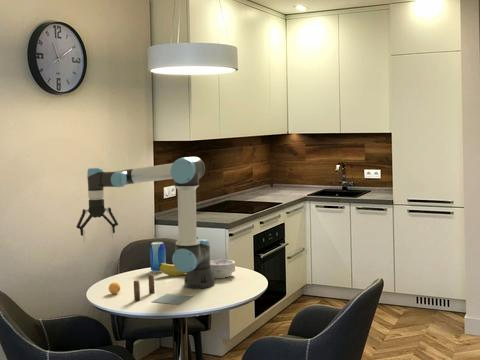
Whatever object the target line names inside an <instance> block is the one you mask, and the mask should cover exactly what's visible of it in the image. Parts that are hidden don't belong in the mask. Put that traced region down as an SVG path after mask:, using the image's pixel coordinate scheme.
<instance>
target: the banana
mask: <svg viewBox="0 0 480 360" xmlns="http://www.w3.org/2000/svg"><path fill="white" fill-rule="evenodd" d="M198 238H199V237H198V236H197V239H198ZM159 268H160V270H161V271H162V272H161V273H163V274H165V275H167V276H172V277H173V276H175V277H178V276H183V275H186V273H187V272H181V271H179V270H178V269H177V268H176V267H175V266H174V264H169V263H166V264H164V263H160V264H159Z"/></svg>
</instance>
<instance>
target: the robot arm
mask: <svg viewBox="0 0 480 360" xmlns="http://www.w3.org/2000/svg"><path fill="white" fill-rule="evenodd" d="M205 166H206V165H205V163H204V161H203V160H202V159H201V158H200V157H198V156H184V157H180V158H177V159H176V160H175V161H173V163H165V164H159V165H153V166H152V165H150V166H145V167H137V168H129V169H123V170H115V171H104V170H103V168H102V167H89V168H88V169H87V172H86V173H87V174H86V175H87V176H86V177H87V178H86V179H87V190H88V191H87V192H88V193H87V196H88V197H87V198H88V199H89V200H88V209H85V208H83V209H82V212H81V215H80V218H79V219H78V222H77V224H76V228H77V229H79V230H80V231H79V233H80V236H82V242H83V243H86V233H85V232H86V231H85V227H86V225H88V223H89V222H90V221H91V219H92V218H95V219H96V218H101V217H102V218H103V219H105V220H106V222H107V223H108V224H109V225H110V227H109V228H110V231H109V232H110V240H111V241H114V234H115V233H116V230H115V229H116V227H117V226H119V223H118V221H117V219H116V217H115V216H114V214H113V212H112V208H111V207H109V206H108V207H106V208H105V199H104V198H105V192H104V188H122V187H123V188H124V186H125V185H126V186H127V185H133V184H139V183H140V184H141V183H149V182H157V181H164V180H173V181H174V182H173V183H174V184H173V185H174V187H175V188H176V190H177V212H178V213H177V217H178V218H177V222H178V223H177V225H178V227H177V228H178V229H177V230H178V240H176V242H175V252H173V254H172V265H174V266H175V267H176V268H177V269H178V270H179V271H181V272H187V273H186V274H185V278H184V281H183V283H184V287H185V288H188V289H207V288H211V287H213V286H215V283H216V282H215V278H214V277H213V275H212V272H211V269H210V261H211V246H210V241H209V239H205V238H204V239H200V238H199V239H197V237H198V235H197V233H198V232H197V188H198V187H200V179H201V178H202V177H203V176H204V175H205V171H206V167H205ZM105 212H107V213H109V215H110V217H111V219H112V221H113V222H114V223H113V222H112V221H111V220H110V219H109V217H107V215H105ZM87 213H89V215H88V217H87V218H86V219H85V221H84V222H83V220H84V218H85V216H86V214H87ZM82 222H83V223H82Z"/></svg>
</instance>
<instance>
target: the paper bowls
mask: <svg viewBox="0 0 480 360" xmlns="http://www.w3.org/2000/svg"><path fill="white" fill-rule="evenodd" d="M210 269H211V272H212V275H213V277H214V279H226V278H225V277H228V278H230V277H231V276H232V275H233V273H235V272H236V262H235V260H232V259H214V260H210ZM229 276H230V277H229Z"/></svg>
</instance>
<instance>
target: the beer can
mask: <svg viewBox="0 0 480 360" xmlns="http://www.w3.org/2000/svg"><path fill="white" fill-rule="evenodd" d="M149 258H150V260H149V261H150V270H151V272H152V273H155V274H158V273H160V274H161V273H163V272H162V271H161V270H160V268H159V264H160V263H164V264H167V261H166V259H167V258H166V246H165V244H164V242H163V241H153V242H152V243H150V247H149Z"/></svg>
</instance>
